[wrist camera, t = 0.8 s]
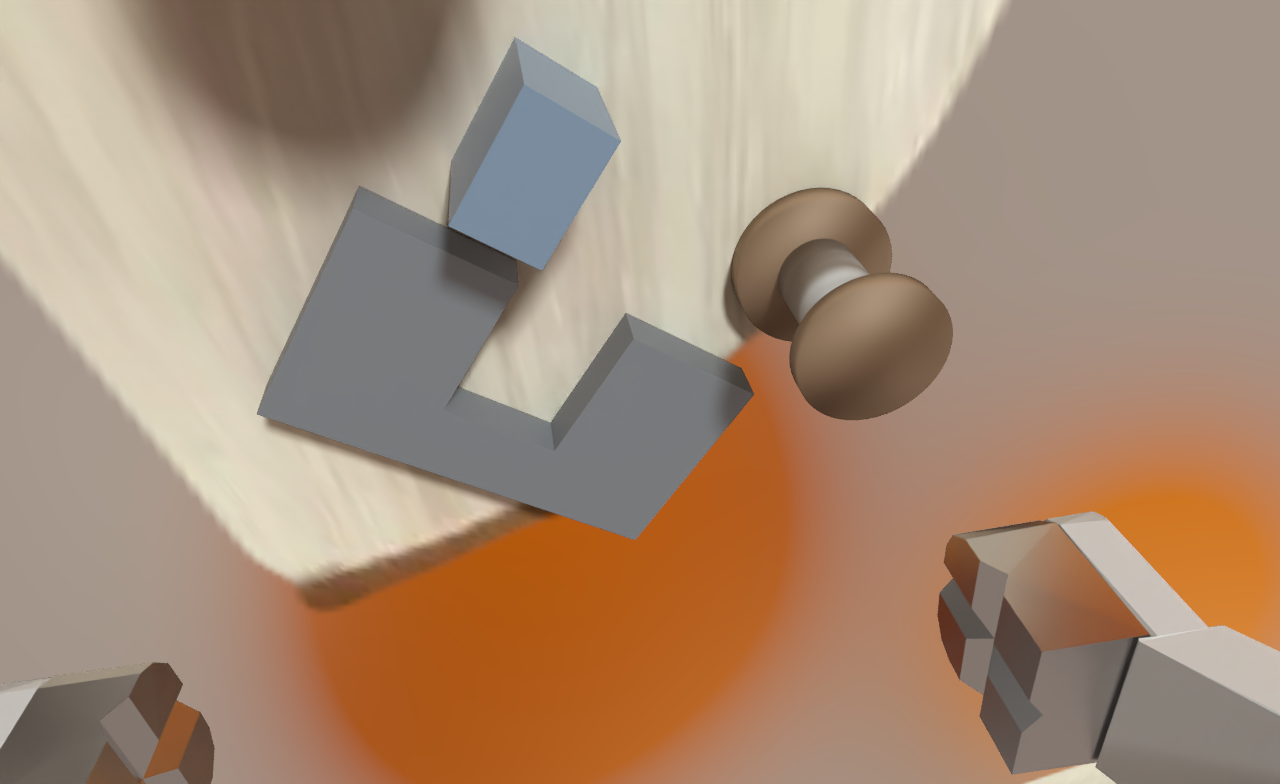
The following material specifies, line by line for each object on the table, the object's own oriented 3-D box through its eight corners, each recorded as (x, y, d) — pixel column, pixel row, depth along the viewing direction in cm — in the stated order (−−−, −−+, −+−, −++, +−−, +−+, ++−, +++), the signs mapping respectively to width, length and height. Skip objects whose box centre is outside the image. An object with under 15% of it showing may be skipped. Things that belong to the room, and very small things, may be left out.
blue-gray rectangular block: (451, 160, 36) (448, 226, 31) (514, 37, 34) (524, 84, 28) (531, 201, 38) (541, 270, 32) (597, 87, 35) (621, 141, 30)
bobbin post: (701, 290, 42) (748, 390, 35) (796, 159, 39) (870, 240, 32) (814, 348, 46) (878, 450, 38) (910, 232, 42) (1000, 321, 35)
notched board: (266, 384, 41) (256, 414, 39) (359, 186, 36) (352, 208, 34) (628, 511, 51) (635, 540, 49) (741, 368, 46) (754, 394, 44)
